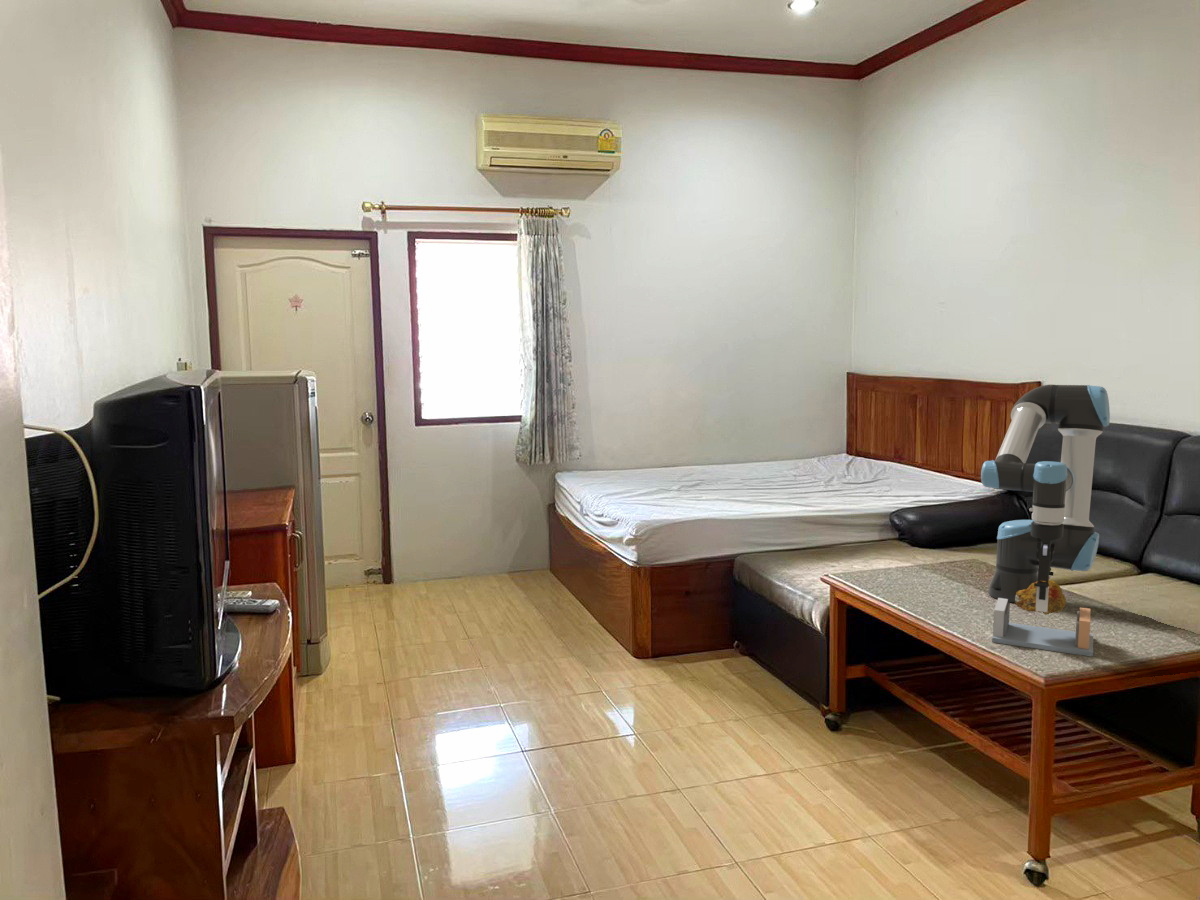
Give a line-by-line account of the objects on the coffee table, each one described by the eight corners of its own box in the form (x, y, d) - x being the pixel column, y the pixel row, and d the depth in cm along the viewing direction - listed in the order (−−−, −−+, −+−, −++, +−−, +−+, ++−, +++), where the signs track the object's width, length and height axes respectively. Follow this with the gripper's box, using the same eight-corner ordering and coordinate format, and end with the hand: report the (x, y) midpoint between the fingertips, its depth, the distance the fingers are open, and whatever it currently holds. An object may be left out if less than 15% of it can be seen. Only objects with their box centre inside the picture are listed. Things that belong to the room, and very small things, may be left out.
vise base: (997, 625, 246) (998, 596, 245) (1092, 638, 235) (1094, 608, 234) (992, 642, 233) (993, 611, 232) (1092, 656, 222) (1095, 624, 221)
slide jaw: (1075, 632, 235) (1077, 607, 234) (1088, 634, 234) (1090, 608, 233) (1075, 647, 225) (1076, 620, 224) (1088, 649, 223) (1090, 621, 223)
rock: (1052, 631, 229) (1028, 605, 227) (1028, 626, 237) (1005, 601, 235) (1076, 598, 232) (1053, 572, 230) (1052, 594, 240) (1029, 569, 238)
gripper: (1033, 512, 242) (1029, 592, 245) (1028, 529, 222) (1023, 615, 224) (1064, 515, 238) (1059, 596, 241) (1062, 532, 218) (1057, 619, 221)
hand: (1042, 605), depth 233 cm, fingers closed on rock, 11 cm apart
